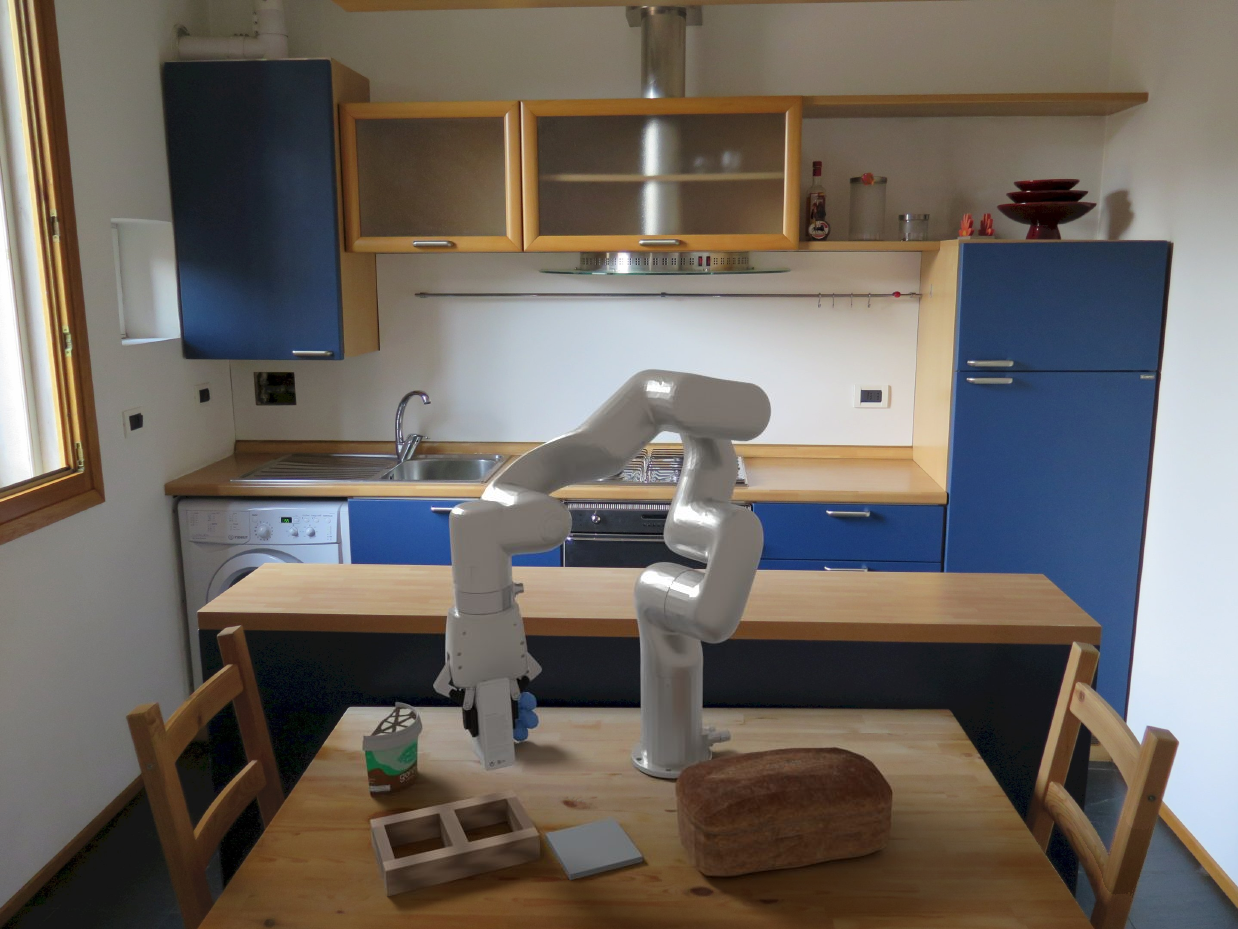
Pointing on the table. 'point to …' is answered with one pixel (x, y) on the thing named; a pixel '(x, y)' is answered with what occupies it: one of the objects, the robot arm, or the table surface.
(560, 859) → the mat
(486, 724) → the skincare box
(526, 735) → the blue knobbed wheel
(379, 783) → the food container
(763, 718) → the table surface
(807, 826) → the bread
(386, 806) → the table surface
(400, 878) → the board
